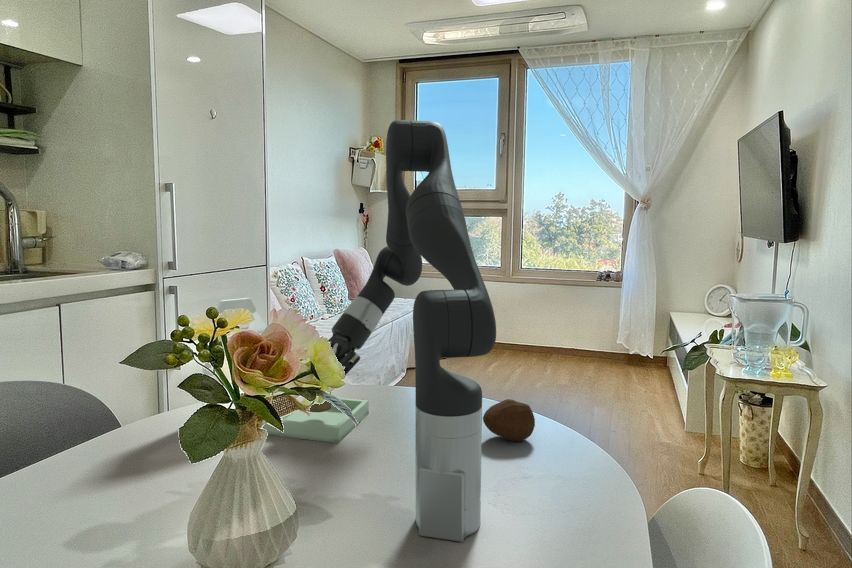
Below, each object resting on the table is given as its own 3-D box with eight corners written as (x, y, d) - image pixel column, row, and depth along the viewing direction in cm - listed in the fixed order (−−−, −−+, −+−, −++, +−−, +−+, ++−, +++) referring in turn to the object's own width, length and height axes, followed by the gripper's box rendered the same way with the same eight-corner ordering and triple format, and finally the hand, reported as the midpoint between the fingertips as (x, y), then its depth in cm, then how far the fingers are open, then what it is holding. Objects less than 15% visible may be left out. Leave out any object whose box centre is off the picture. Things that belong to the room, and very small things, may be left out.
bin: (338, 442, 105) (338, 427, 105) (264, 434, 109) (263, 419, 109) (368, 413, 121) (368, 400, 120) (302, 407, 125) (301, 394, 124)
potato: (538, 446, 104) (539, 406, 103) (487, 448, 103) (487, 408, 102) (527, 431, 111) (528, 393, 110) (479, 433, 110) (479, 394, 109)
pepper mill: (325, 413, 112) (323, 360, 110) (301, 411, 113) (299, 358, 111) (335, 404, 116) (334, 354, 115) (313, 402, 118) (311, 352, 116)
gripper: (328, 307, 122) (281, 371, 116) (367, 316, 112) (316, 386, 105) (349, 327, 127) (304, 390, 120) (388, 338, 116) (341, 407, 110)
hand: (310, 388), depth 113 cm, fingers closed on pepper mill, 5 cm apart
